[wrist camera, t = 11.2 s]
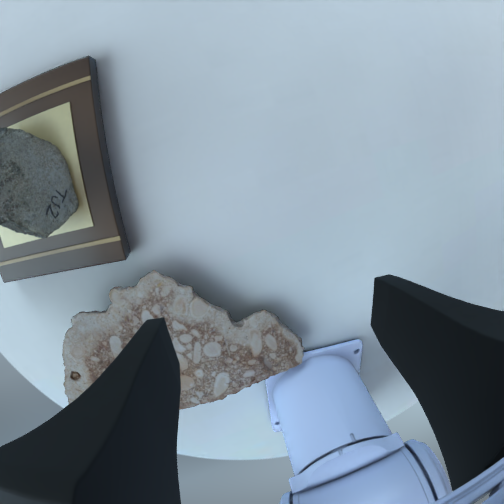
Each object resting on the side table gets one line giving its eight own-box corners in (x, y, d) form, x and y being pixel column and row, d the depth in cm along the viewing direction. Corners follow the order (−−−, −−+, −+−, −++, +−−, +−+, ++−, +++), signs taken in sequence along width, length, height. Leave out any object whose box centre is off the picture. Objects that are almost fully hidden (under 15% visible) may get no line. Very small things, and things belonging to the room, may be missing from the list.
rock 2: (85, 438, 18) (7, 330, 14) (89, 404, 21) (26, 302, 17) (313, 369, 21) (288, 237, 17) (292, 341, 24) (266, 221, 21)
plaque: (130, 252, 18) (126, 261, 17) (11, 275, 17) (2, 284, 16) (95, 59, 14) (88, 54, 12) (-27, 114, 13) (-38, 114, 12)
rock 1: (80, 217, 18) (81, 255, 14) (-21, 229, 14) (-44, 270, 10) (80, 116, 15) (77, 124, 11) (-30, 130, 11) (-64, 145, 7)
